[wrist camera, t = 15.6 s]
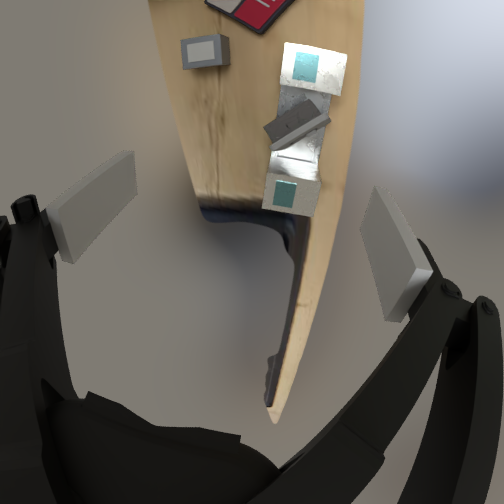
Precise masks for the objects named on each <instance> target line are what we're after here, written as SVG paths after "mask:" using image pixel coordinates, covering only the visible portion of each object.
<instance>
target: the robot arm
mask: <svg viewBox="0 0 504 504" xmlns="http://www.w3.org/2000/svg"><path fill="white" fill-rule="evenodd" d="M136 195H137V186H136V173H135V159H134V151H121V152H120V153H118V154H117V155H115V156H114V157H112V158H111V159H109V160H108V161H106V162H105V163H103V164H102V165H100V166H99V167H98V168H96V169H95V170H93V171H92V172H90V173H89V174H88V175H86V176H85V177H84V178H82V179H81V180H80V181H78V182H77V183H76V184H74V185H73V186H72V187H70V188H69V189H68V190H66V191H65V192H64V193H63V194H62V195H60V196H59V197H58V198H56V200H54V201H53V202H52V203H50V204H49V205H48V206H47V207H46V208H45V209H44V210H43V211H41V212H40V210H39V207H38V204H37V199H36V196H35V195H26V196H23V197H21V198H19V199H17V200H16V201H15V202H14V203H12V205H11V209H12V213H13V216H14V219H15V222H16V224H11V225H9V222H8V219H7V216H0V504H351V503H352V502H353V501H354V499H355V498H356V497H357V496H358V495H359V494H360V492H361V491H362V490H363V489H364V488H365V487H366V486H367V484H368V483H369V482H370V481H371V479H372V478H373V477H374V476H375V474H376V473H377V472H378V470H379V469H380V467H381V466H382V464H383V463H384V460H385V457H384V455H383V453H384V451H385V449H386V448H387V446H388V445H389V444H390V442H391V441H392V439H393V438H394V436H395V435H396V433H397V432H398V430H399V429H400V427H401V426H402V424H403V423H404V421H405V420H406V418H407V416H408V415H409V413H410V411H411V410H412V408H413V406H414V405H415V403H416V401H417V399H418V398H419V396H420V394H421V392H422V390H423V389H424V387H425V385H426V383H427V381H428V379H429V377H430V375H431V373H432V371H433V369H434V367H435V365H436V363H437V361H438V359H439V357H440V354H441V352H442V356H441V362H440V368H439V373H438V379H437V384H436V389H435V393H434V398H433V402H432V406H431V410H430V414H429V418H428V421H427V425H426V429H425V432H424V435H423V438H422V442H421V445H420V448H419V451H418V454H417V456H416V459H415V462H414V465H413V467H412V470H411V472H410V475H409V477H408V480H407V482H406V485H405V487H404V489H403V491H402V494H401V496H400V498H399V501H398V503H397V504H484V503H485V500H486V497H487V493H488V490H489V486H490V482H491V478H492V473H493V469H494V464H495V459H496V454H497V448H498V441H499V435H500V426H501V416H502V402H503V354H502V338H501V327H500V318H499V312H498V309H497V308H496V306H495V304H494V303H493V301H492V300H490V299H488V298H487V297H484V296H479V297H478V298H477V299H476V300H475V302H474V303H471V302H469V301H466V300H464V299H462V293H461V291H460V289H459V288H458V287H457V286H456V285H455V284H454V283H453V282H451V281H450V280H448V279H445V278H443V276H442V274H441V272H440V270H439V268H438V266H437V264H436V262H435V261H434V259H433V257H432V255H431V253H430V251H429V249H428V248H427V246H426V245H425V244H424V243H423V242H422V241H421V240H420V239H417V238H416V237H415V235H414V233H413V231H412V230H411V228H410V226H409V224H408V223H407V221H406V219H405V217H404V216H403V214H402V212H401V211H400V209H399V208H398V206H397V204H396V203H395V201H394V199H393V198H392V196H391V195H390V193H389V191H388V190H387V189H384V188H380V187H377V186H374V189H373V192H372V195H371V198H370V201H369V204H368V207H367V210H366V214H365V216H364V219H363V221H362V224H361V227H360V232H361V235H362V238H363V241H364V244H365V247H366V251H367V254H368V258H369V261H370V264H371V268H372V272H373V275H374V279H375V282H376V286H377V290H378V294H379V298H380V302H381V306H382V310H383V314H384V318H385V321H390V322H401V321H402V320H403V319H404V317H405V316H406V314H407V313H408V315H409V318H410V321H409V323H408V324H407V325H406V327H405V328H404V329H403V331H402V332H401V333H400V335H399V336H398V338H397V340H396V342H395V343H394V344H393V346H392V347H391V348H390V350H389V351H388V353H387V354H386V355H385V357H384V358H383V360H382V361H381V362H380V363H379V365H378V366H377V367H376V369H375V370H374V371H373V372H372V374H371V375H370V376H369V378H368V379H367V380H366V381H365V382H364V384H363V385H362V386H361V387H360V389H359V390H358V391H357V392H356V393H355V394H354V396H353V397H352V398H351V399H350V400H349V401H348V402H347V404H346V405H345V406H344V407H343V408H342V409H341V410H340V411H339V413H338V414H337V415H336V416H335V417H334V418H333V419H332V420H331V421H330V422H329V423H328V424H327V425H326V426H325V427H324V428H323V429H322V430H321V431H320V432H319V433H318V434H317V435H316V436H315V437H314V438H313V439H312V440H311V441H310V442H309V443H308V444H307V445H306V446H305V447H304V448H303V449H301V450H300V451H299V452H298V453H297V454H296V455H294V456H293V457H292V458H291V459H290V460H289V461H287V462H286V463H285V464H284V465H283V466H281V467H280V468H279V469H278V468H277V467H276V466H275V465H274V464H273V463H272V462H271V461H270V460H269V459H268V458H267V457H265V456H264V455H263V454H261V453H260V452H258V451H257V450H255V449H253V448H251V447H249V446H247V445H245V444H242V443H240V439H241V435H235V434H229V433H224V432H218V431H214V430H209V429H204V428H200V427H162V426H155V425H153V424H151V423H149V422H147V421H146V420H144V419H143V418H141V417H139V416H137V415H136V414H135V413H133V412H132V411H130V410H129V409H127V408H126V407H124V406H123V405H121V404H119V403H117V402H114V401H111V400H109V399H106V398H104V397H101V396H99V395H97V394H94V393H92V392H90V391H88V393H87V395H86V398H85V399H79V398H78V396H77V394H76V392H75V390H74V388H73V385H72V382H71V377H70V372H69V368H68V363H67V358H66V352H65V347H64V340H63V334H62V327H61V319H60V310H59V301H58V288H57V268H56V260H55V257H54V255H55V253H56V252H57V251H58V250H59V253H60V256H61V259H62V261H64V262H68V263H72V264H75V262H76V261H77V260H78V259H79V257H80V256H81V255H82V254H83V252H84V251H85V250H86V249H87V248H88V247H89V246H90V244H91V243H92V242H93V241H94V240H95V239H96V238H97V236H98V235H99V234H100V233H101V232H102V231H103V230H104V229H105V228H106V226H107V225H108V224H109V223H110V222H111V221H112V220H113V219H114V218H115V217H116V215H118V214H119V212H120V211H121V210H122V209H123V208H124V207H125V206H126V205H127V204H128V203H129V202H130V201H131V200H132V199H133V198H134V197H135V196H136Z"/></svg>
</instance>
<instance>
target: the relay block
mask: <svg viewBox="0 0 504 504" xmlns="http://www.w3.org/2000/svg"><path fill="white" fill-rule="evenodd" d="M181 51H182V62H183V70H184V69H196V68H204V67H212V66H221V65H231V63H230V49H229V38H228V37H226V36H224V35H221V34H215V35H208V36H201V37H195V38H189V39H184V40H181Z"/></svg>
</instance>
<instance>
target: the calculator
mask: <svg viewBox="0 0 504 504" xmlns="http://www.w3.org/2000/svg"><path fill="white" fill-rule="evenodd" d="M293 1H294V0H205V1H204V3H205V4H207V5H209V6H211V7H213V8H215V9H216V10H218V11H220V12H222V13H224V14H226V15H228V16H230V17H231V18H233V19H235V20H237V21H239V22H240V23H242V24H244V25H245V26H247V27H249V28H250V29H252V30H254V31H255V32H257V33H259V34H264V33H265V31H266V30H267V29H268V28H269V27H270V26H271V25H272V24H273V22H274V21H275V20H276V19H277V18H278V17H279V16H280V15H281V14H282V13H283V12H284V11H285V10H286V8H287V7H288V6H289V5H290V4H291V3H292V2H293Z"/></svg>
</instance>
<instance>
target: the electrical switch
mask: <svg viewBox="0 0 504 504" xmlns="http://www.w3.org/2000/svg"><path fill="white" fill-rule="evenodd" d="M301 106H302V107H301ZM279 122H280V123H279ZM330 122H331V120H330V118H329V116H328V114H327V113H323V114H321V113H320V111H319V110H318V109H317V107H316V106H315V104H314V103H313V102H312V101H310V99H307V100H306V101H304V102H302V103H301V104H299V105H297V106H296V107H294V108H292V109H291V110H289V111H288V112H286V113H284V114H283V115H281V116H280V117H278V118H277V119H275V120H273V121H272V122H270V123H269V124H267V125H266V126H264V127H263V128H264V129H265V131H266V132H267V133H268V135H269V138H270V139H271V141H272V142H273V144H272V145H271V146H269V148H270V149H271V150H272V152H275V151H280V150H284V149H286V148H288V147H290V146H292V145H293V144H295V143H297V142H298V141H300V140H302V139H303V138H305V137H310V136H312V135H313V134H315V133H316V132H317V130H318V129H320V128H322V127H324V126H325V125H327V124H329V123H330Z"/></svg>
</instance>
